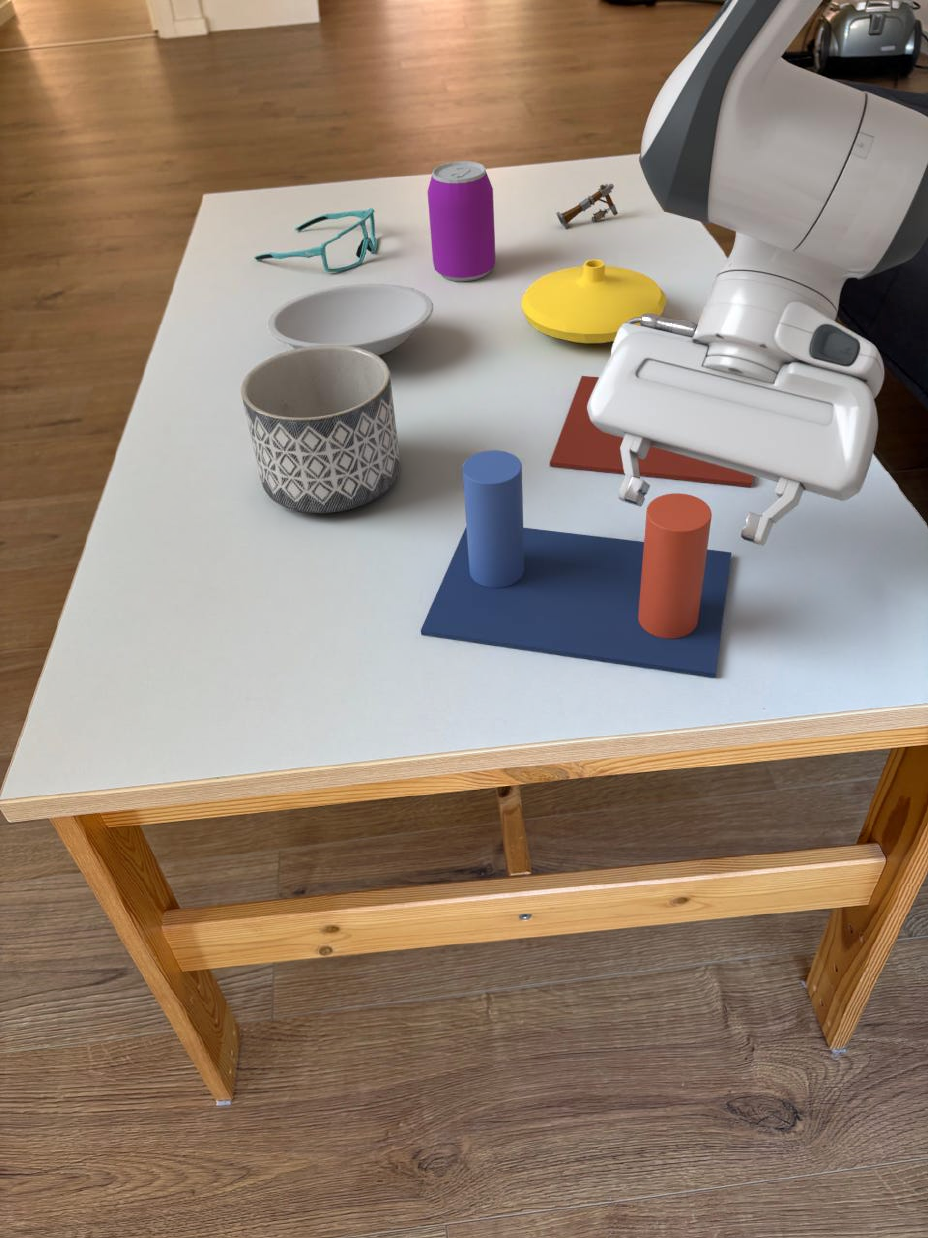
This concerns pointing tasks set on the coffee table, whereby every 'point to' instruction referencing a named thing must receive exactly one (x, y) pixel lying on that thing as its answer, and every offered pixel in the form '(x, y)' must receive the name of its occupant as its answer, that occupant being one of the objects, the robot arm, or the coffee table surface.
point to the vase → (590, 301)
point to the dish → (352, 317)
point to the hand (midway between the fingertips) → (689, 521)
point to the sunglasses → (361, 251)
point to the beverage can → (461, 221)
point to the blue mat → (578, 605)
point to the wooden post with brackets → (587, 203)
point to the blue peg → (494, 518)
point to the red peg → (673, 564)
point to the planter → (323, 427)
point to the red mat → (602, 451)
